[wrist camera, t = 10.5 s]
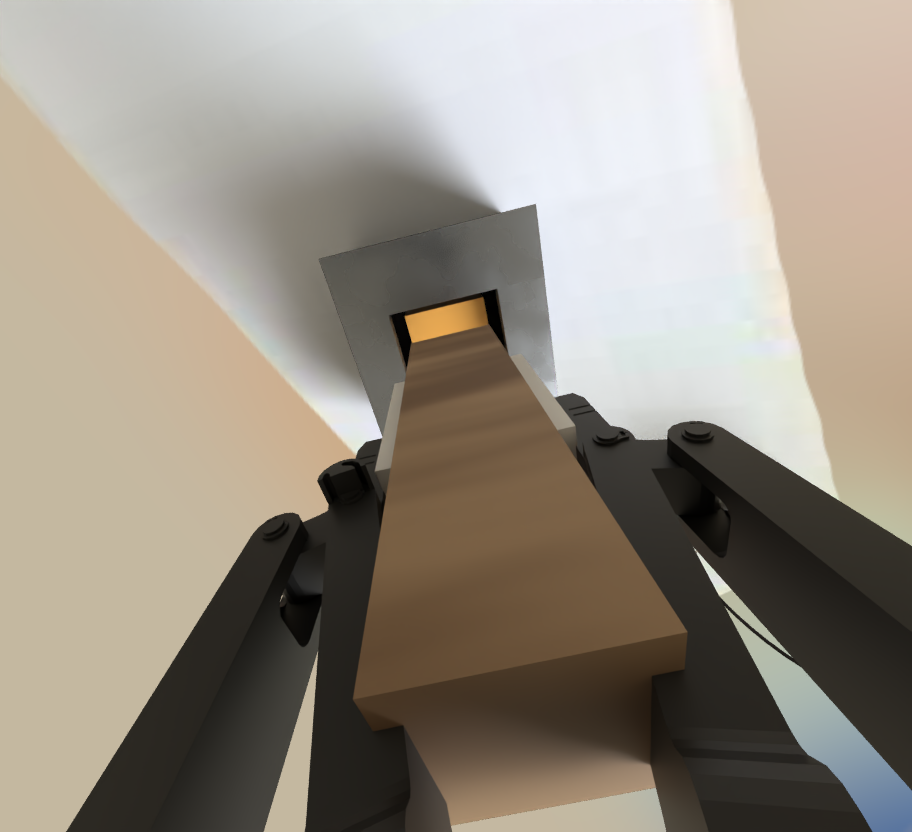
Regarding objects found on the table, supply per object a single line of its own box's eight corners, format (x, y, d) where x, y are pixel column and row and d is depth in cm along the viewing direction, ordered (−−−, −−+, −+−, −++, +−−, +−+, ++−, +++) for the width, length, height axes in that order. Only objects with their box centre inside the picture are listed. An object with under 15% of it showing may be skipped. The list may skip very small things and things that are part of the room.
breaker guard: (352, 252, 29) (318, 258, 20) (502, 214, 29) (535, 203, 20) (403, 409, 35) (394, 468, 26) (528, 380, 35) (562, 430, 26)
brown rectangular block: (411, 343, 19) (352, 699, 4) (489, 324, 19) (688, 631, 4) (431, 413, 21) (434, 828, 6) (502, 396, 20) (674, 784, 6)
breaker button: (409, 300, 30) (404, 316, 24) (473, 285, 30) (483, 297, 24) (426, 362, 32) (425, 389, 26) (485, 347, 32) (497, 372, 26)
